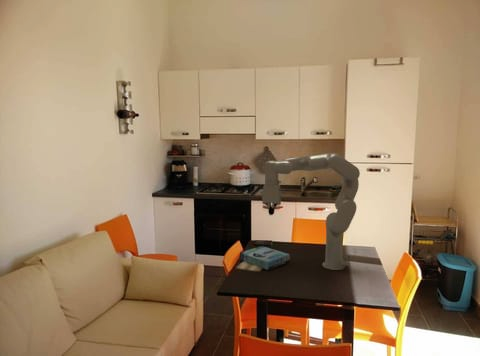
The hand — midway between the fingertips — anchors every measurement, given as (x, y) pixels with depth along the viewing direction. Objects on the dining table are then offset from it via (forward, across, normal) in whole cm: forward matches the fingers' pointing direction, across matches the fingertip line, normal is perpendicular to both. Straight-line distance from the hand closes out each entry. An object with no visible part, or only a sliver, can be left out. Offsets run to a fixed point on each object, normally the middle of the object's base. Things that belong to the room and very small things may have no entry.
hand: (271, 214), depth 210 cm
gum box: (+28, -5, 0) cm, 28 cm away
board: (+30, +10, 0) cm, 32 cm away
